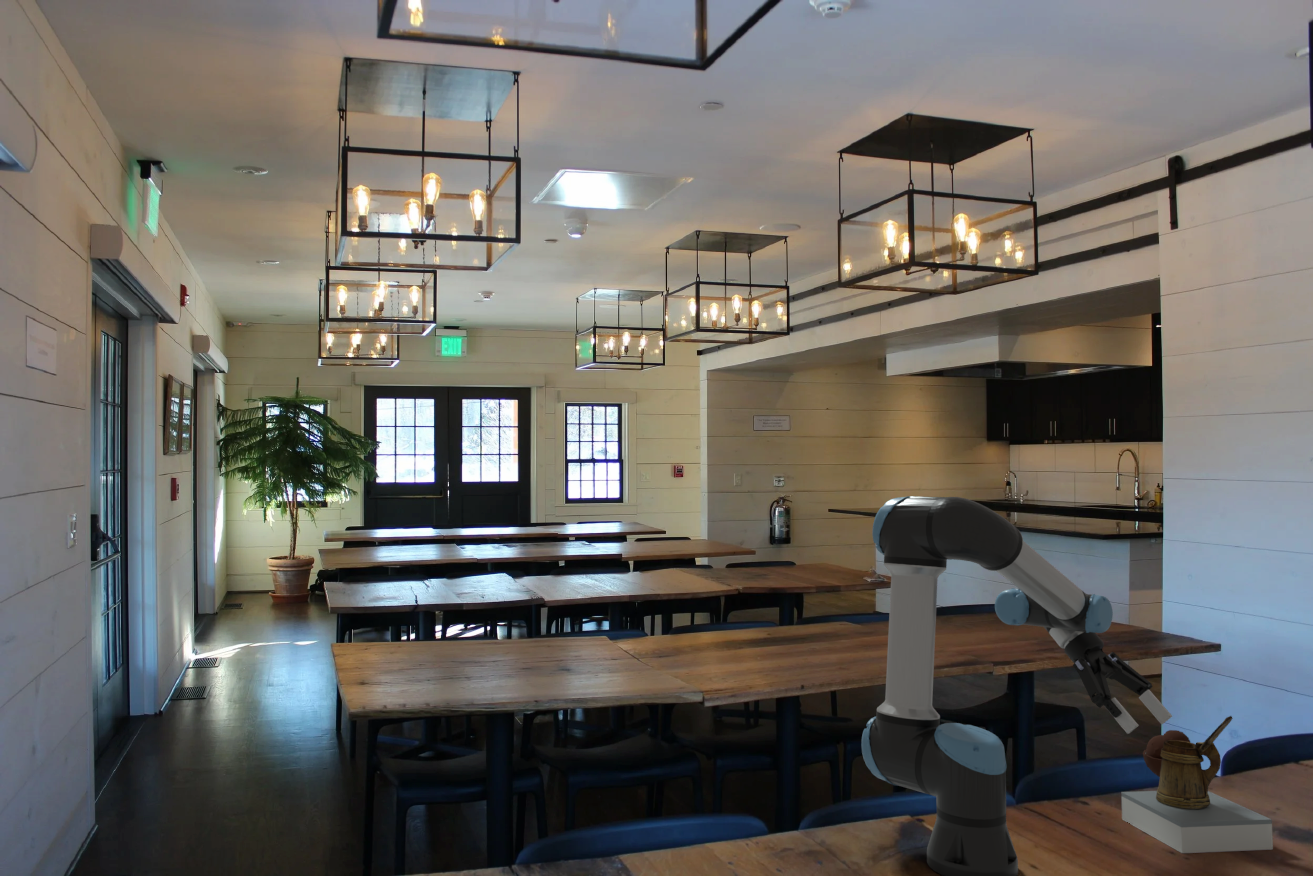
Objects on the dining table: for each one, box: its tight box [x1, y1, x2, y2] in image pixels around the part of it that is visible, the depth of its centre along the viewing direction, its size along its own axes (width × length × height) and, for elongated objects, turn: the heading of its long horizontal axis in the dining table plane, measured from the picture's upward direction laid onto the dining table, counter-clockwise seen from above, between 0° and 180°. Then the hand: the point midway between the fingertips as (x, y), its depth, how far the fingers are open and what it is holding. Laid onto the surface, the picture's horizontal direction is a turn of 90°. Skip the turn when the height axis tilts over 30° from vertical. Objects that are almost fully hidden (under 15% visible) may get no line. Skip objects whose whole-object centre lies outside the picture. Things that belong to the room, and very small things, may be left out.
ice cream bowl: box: [1142, 729, 1191, 778], centre depth 201 cm, size 11×11×15 cm
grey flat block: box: [1120, 790, 1274, 854], centre depth 181 cm, size 18×18×5 cm
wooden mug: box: [1156, 715, 1233, 809], centre depth 182 cm, size 9×14×18 cm, turn 47°
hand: (1150, 725), depth 188 cm, fingers open, 13 cm apart
